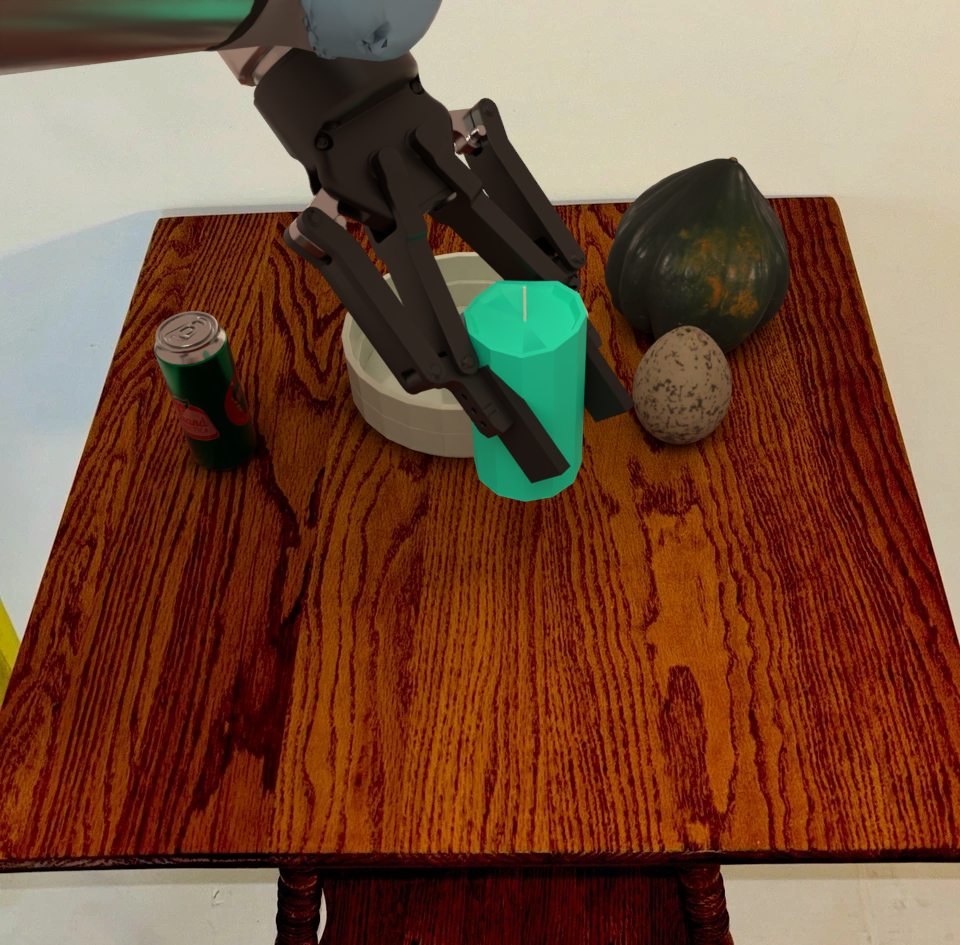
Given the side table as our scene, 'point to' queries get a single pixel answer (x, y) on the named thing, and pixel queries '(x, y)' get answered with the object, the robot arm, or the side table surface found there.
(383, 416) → the bowl
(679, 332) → the decorative egg
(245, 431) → the soda can
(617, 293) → the squash
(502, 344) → the candle
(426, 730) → the side table surface
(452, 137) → the robot arm
